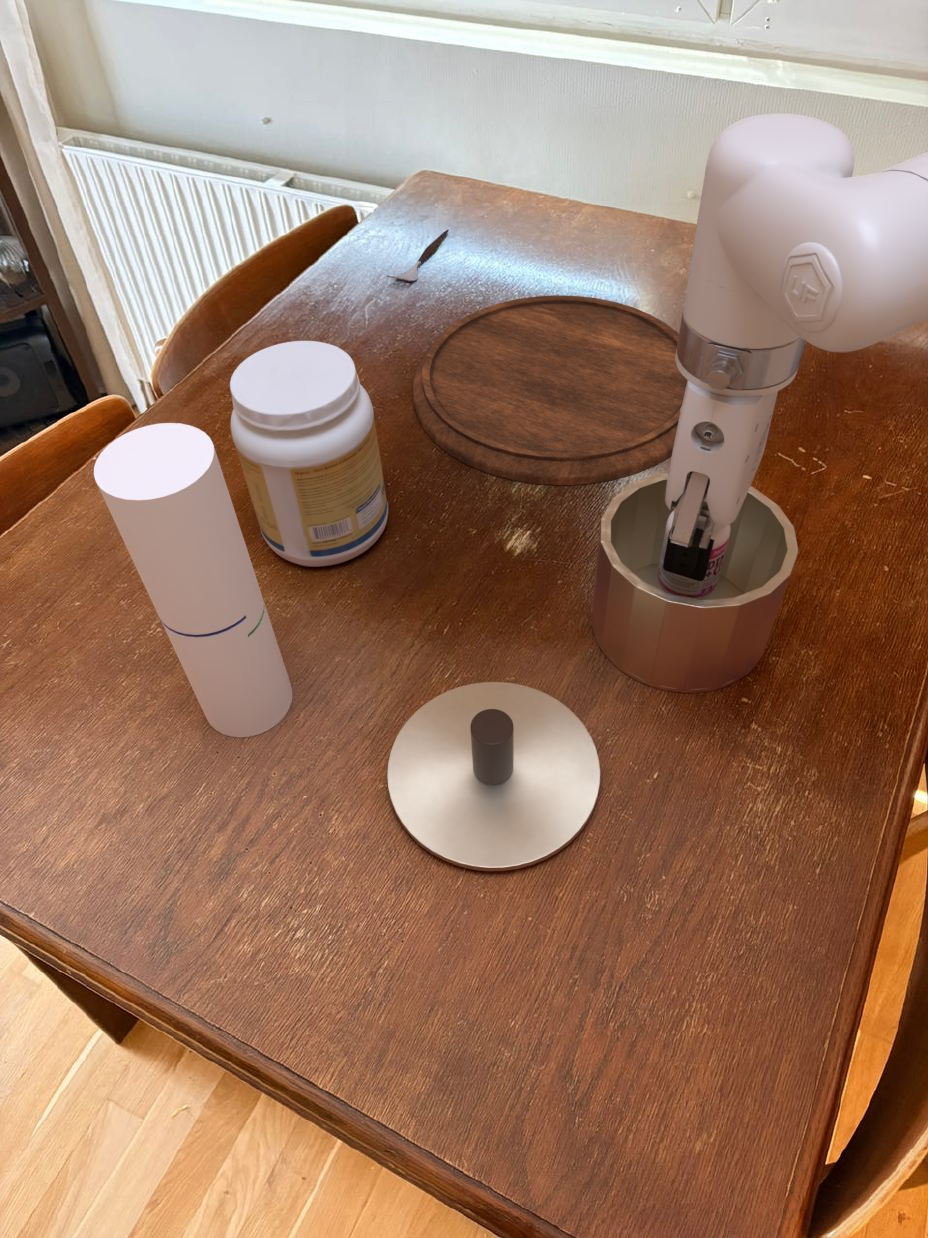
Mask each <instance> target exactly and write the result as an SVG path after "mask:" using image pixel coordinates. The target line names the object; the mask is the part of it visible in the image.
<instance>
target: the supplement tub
mask: <svg viewBox="0 0 928 1238" xmlns="http://www.w3.org/2000/svg"><path fill="white" fill-rule="evenodd" d="M229 390H230V395H231V402H232V407H233V408H232V411H231V416H230V433H231V438H232V441H233V443H234V447H235V450H236V453H237V456H238V460H239V463H240V467H241V469H242V473H243V476H244V480H245V483H246V486H247V490H248V493H249V496H250V500H251V502H252V506H253V510H254V513H255V516H256V519H257V522H258V526H259V530H260V533H261V535H262V537H263V539H264V541H265V542H266V544H267V545H268V546H269V548H270V549H271V550H272V551H273V552H274V553H275V554H276V555H278V556H279V557H281V558H282V559H283V560H286V561H288V562H290V563H293V564H295V565H299V566H303V567H315V568H316V567H317V568H318V567H329V566H333V565H339V564H342V563H345V562H347V561H350V560H352V559H354V558H357V557H358V556H360V555H361V554H363V553H365V552H366V551H367V550H369V549H370V548H371V547H372V546H373V545H374V544H375V543H376V542H378V540H379V538H381V535H382V534H383V532H384V530H385V528H386V526H387V524H388V518H389V504H388V503H389V502H388V500H387V492H386V487H385V481H384V474H383V468H382V461H381V460H382V459H381V454H380V448H379V440H378V434H377V433H378V432H377V427H376V421H375V411H374V406H373V404H372V401H371V397H370V395H369V394H368V392H367V390H366V389H365V387H364V386H363V385H362V384H361V382H360V377H359V376H358V373H357V370H356V365H355V362H354V361H353V359H352V357H351V356H350V354H348V352H346V351H345V350H343V349H342V348H340V347H339V346H336V345H334V344H331V343H326V342H323V341H315V340H292V341H287V342H282V343H277V344H274V345H270V346H268V347H265V348H263V349H261V350H258V351H256V352H254V353H253V354H251V355H250V356H248V357H246V358H245V359H244V360H243V361H242V362H241V363H240V364H238V365H237V367H236V368H235V370H234V371H233V373H232V374H231V377H230V381H229Z"/></svg>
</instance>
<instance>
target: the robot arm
mask: <svg viewBox="0 0 928 1238" xmlns="http://www.w3.org/2000/svg"><path fill="white" fill-rule="evenodd" d="M705 165H706V166H705V170H704V177H703V183H702V189H701V196H700V203H699V207H698V208H699V209H698V214H697V221H696V228H695V234H694V240H693V246H692V252H691V259H690V263H689V270H688V277H687V284H686V291H685V297H684V304H683V308H682V313H681V320H680V325H679V332H678V333H679V337H678V344H677V351H676V357H675V360H676V365H677V367H678V370H679V371H680V372H681V374H682V375H683V376H684V377H685V378H686V379H687V385H686V389H685V394H684V398H683V403H682V407H681V409H680V417H679V422H678V426H677V431H676V436H675V441H674V446H673V451H672V456H670V463H669V469H668V472H667V473H668V480H667V487H666V495H665V503H666V505H667V507H668V508H669V510H672V509H673V508H675V509H676V510H675V514H674V518H673V523H672V527H671V529H670V531H669V535H668V541H667V546H666V551H665V557H664V562H663V569H664V570H665V571H667V572H671V573H674V574H677V575H680V576H684V577H687V578H690V579H694V580H697V581H703V580H704V578H705V576H706V573H707V569H708V565H709V561H710V556H711V552H712V548H713V544H714V540H712V539H711V535H712V531H713V528H714V524H715V523H717V524H722V525H723V526H727V525H729V524H731V523H732V522H734V521H735V519H736V517H737V515H738V513H739V511H740V509H741V507H742V504H743V502H744V500H745V497H746V495H747V493H748V490H749V488H750V486H751V487H752V483H753V481H754V478H755V476H756V473H757V471H758V469H759V467H760V464H761V461H762V459H763V456H764V452H765V449H766V446H767V441H768V436H769V431H770V427H771V423H772V418H773V414H774V411H775V405H776V402H777V397H778V394H779V391H781V390H783V389H785V388H786V387H787V386H789V385H790V384H791V383H792V382H793V381H794V380H795V378H796V376H797V374H798V370H799V366H800V364H801V363H800V362H801V359H802V356H803V352H804V349H805V345H806V342H807V344H810V345H812V346H814V347H816V348H818V349H820V350H824V351H826V352H831V353H850V352H851V353H852V352H855V351H856V352H857V351H859V350H862V349H863V350H864V349H865V348H868V347H871V346H873V345H876V344H878V343H880V342H882V341H884V340H886V339H889V338H890V337H892V336H894V335H896V334H898V333H900V332H902V331H904V330H906V329H908V328H910V327H912V326H914V325H916V324H918V323H920V322H922V321H924V320H925V319H926V318H928V151H926V152H924V153H921V154H919V155H915V156H913V157H911V158H909V159H905V160H904V161H901V162H900V163H897V164H894V165H891V166H889V167H886V168H884V169H882V170H879V171H877V172H873V173H867V174H861V175H853V173H854V169H855V153H854V147H853V146H852V143H851V141H850V139H849V137H848V136H847V135H846V134H845V133H844V132H843V131H842V130H841V129H840V128H839V127H837V126H836V125H834V124H832V123H830V122H829V121H825V120H823V119H820V118H816V117H812V116H809V115H805V114H798V113H787V112H786V113H785V112H783V113H781V112H775V113H773V112H772V113H763V114H756V115H750V116H747V117H744V118H741V119H738V120H737V121H735V122H733V123H732V124H730V125H728V126H727V127H725V128H724V129H723V130H722V131H721V132H720V133H719V134H718V135H717V137H716V139H715V140H714V142H713V143H712V145H711V147H710V149H709V153H708V154H707V162H706V164H705ZM705 499H706V501H707V502H704V500H705ZM699 515H700V516H703V517H707V518H706V522H705V526H704V530H702V529H699V528H696V525H697V522H698V519H699Z"/></svg>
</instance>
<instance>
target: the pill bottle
mask: <svg viewBox="0 0 928 1238" xmlns="http://www.w3.org/2000/svg"><path fill="white" fill-rule="evenodd" d="M704 502H707V501H706V499H705V500H704ZM675 510H676V509H674V511H673V512H672V513H671V514H670V516H669V518H668V520H667V525H666V530H665V536H664V541H663V547H662V552H661V557H660V563H659V567H658V572H657V578H658V582H659V585H660V586H661V588H662V589H663V590H664V591H665V592H667V593H669V594H674V595H679V596H685V597H690V598H696V599H703V598H705V597H707V596H708V595H710V594H711V593H712V592H713V591H714V589H715V587H716V585H717V582H718V578H719V574H720V570H721V567H722V563H723V559H724V556H725V552H726V548H727V544H728V540H729V537H730V524H729V525H727V526H723V525H722V524H717V523H715V524H714V528H713V531H712V535H711V539H712V540H714V544H713V548H712V552H711V556H710V561H709V565H708V569H707V573H706V576H705V578H704V580H703V581H697V580H694V579H690V578H687V577H684V576H680V575H677V574H674V573H671V572H667V571H665V570H664V569H663V562H664V557H665V551H666V546H667V541H668V535H669V531H670V529H671V527H672V523H673V518H674V514H675ZM706 518H707V517H703V516H700V515H699V519H698V522H697V525H696V528H699V529H702V530H704V526H705V522H706Z"/></svg>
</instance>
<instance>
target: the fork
mask: <svg viewBox="0 0 928 1238" xmlns="http://www.w3.org/2000/svg"><path fill="white" fill-rule="evenodd" d="M448 233H449V229H446V230H445V231H443V232H442V233H441V234H440V235H438V237H436V238H435V240H433V241H432V242H431V243H429V244H428V246H427V247H426V248H425V249H424V251H423V252H422V254H421V255H420V256H419V258H418V260H417V261H416V263H414V265H413V266H412V267H410V268H409V269H407V270H406V271H404V272H402V273H401V274H399V275H396V276H394V275H388V274H387V275H386V277H387V278H391V279H396V280H402V281H406V282H415V281H417V280H418V278H419V273H418V267H419V266H420V265H421V264H422V263H423V262H424V261H426V260H427V259H428V258H429V257H431V256H432V255H433V254H434V253H435V252H436V251H437V249H438V248H439V246H440V244H441V243H442V241H443V240H444V239H445V238H446V236H447V235H448Z"/></svg>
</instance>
